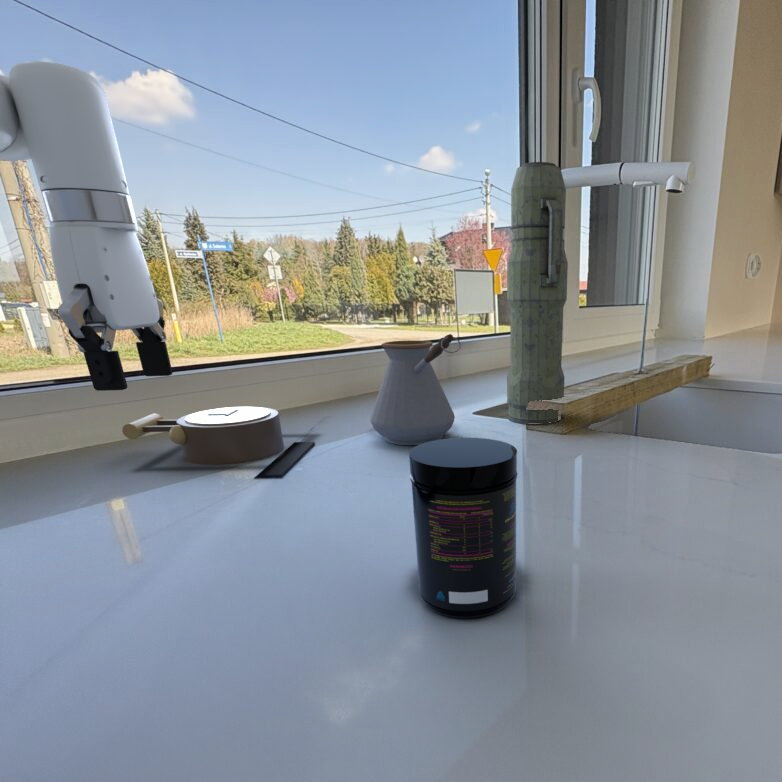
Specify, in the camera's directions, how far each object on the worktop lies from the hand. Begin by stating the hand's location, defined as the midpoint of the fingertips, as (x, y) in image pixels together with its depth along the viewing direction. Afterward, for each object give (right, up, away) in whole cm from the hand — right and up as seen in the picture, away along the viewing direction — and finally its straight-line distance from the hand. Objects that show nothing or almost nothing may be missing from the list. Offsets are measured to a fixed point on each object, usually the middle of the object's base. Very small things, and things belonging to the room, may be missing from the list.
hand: (136, 382), depth 65 cm
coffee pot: (+32, -6, +10) cm, 34 cm away
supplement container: (+40, -21, -26) cm, 52 cm away
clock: (+7, -8, +4) cm, 11 cm away
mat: (+10, -9, +4) cm, 14 cm away
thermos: (+47, 0, +26) cm, 53 cm away
